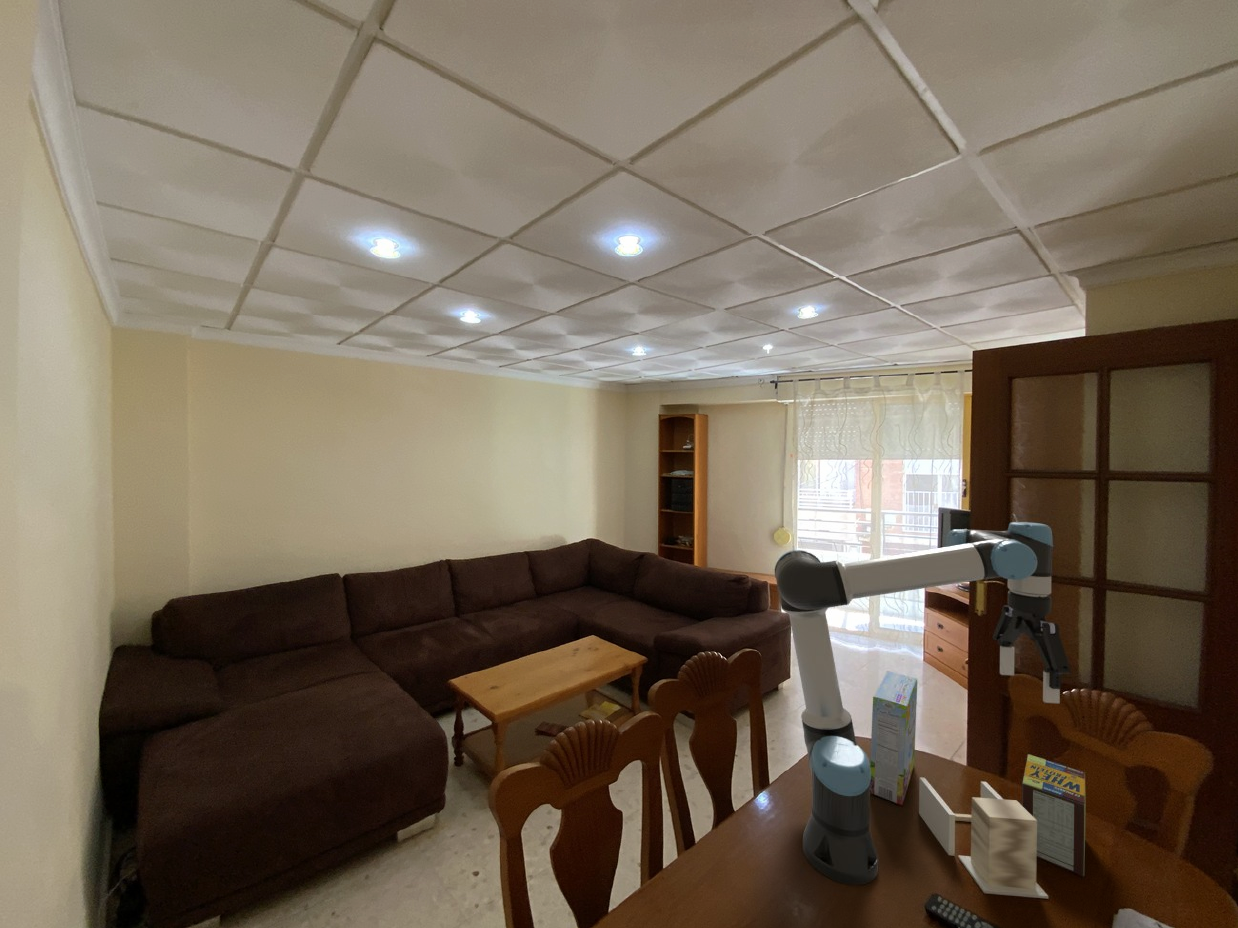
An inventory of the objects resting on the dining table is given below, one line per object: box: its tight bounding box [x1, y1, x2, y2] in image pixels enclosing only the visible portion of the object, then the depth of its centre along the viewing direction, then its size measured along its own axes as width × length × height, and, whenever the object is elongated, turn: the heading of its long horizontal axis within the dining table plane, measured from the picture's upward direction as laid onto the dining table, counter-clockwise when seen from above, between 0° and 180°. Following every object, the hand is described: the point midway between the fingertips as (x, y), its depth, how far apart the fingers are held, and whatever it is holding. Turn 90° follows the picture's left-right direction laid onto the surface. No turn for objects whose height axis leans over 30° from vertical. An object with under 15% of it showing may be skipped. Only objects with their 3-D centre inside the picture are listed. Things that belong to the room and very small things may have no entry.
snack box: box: [869, 670, 918, 806], centre depth 136 cm, size 22×9×26 cm, turn 143°
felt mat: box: [957, 854, 1049, 900], centre depth 104 cm, size 12×9×1 cm
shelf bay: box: [918, 777, 1004, 857], centre depth 116 cm, size 15×13×9 cm
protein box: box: [1021, 754, 1087, 877], centre depth 113 cm, size 10×15×16 cm
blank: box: [970, 796, 1038, 889], centre depth 104 cm, size 9×6×14 cm, turn 84°
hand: (1027, 687), depth 111 cm, fingers open, 13 cm apart
